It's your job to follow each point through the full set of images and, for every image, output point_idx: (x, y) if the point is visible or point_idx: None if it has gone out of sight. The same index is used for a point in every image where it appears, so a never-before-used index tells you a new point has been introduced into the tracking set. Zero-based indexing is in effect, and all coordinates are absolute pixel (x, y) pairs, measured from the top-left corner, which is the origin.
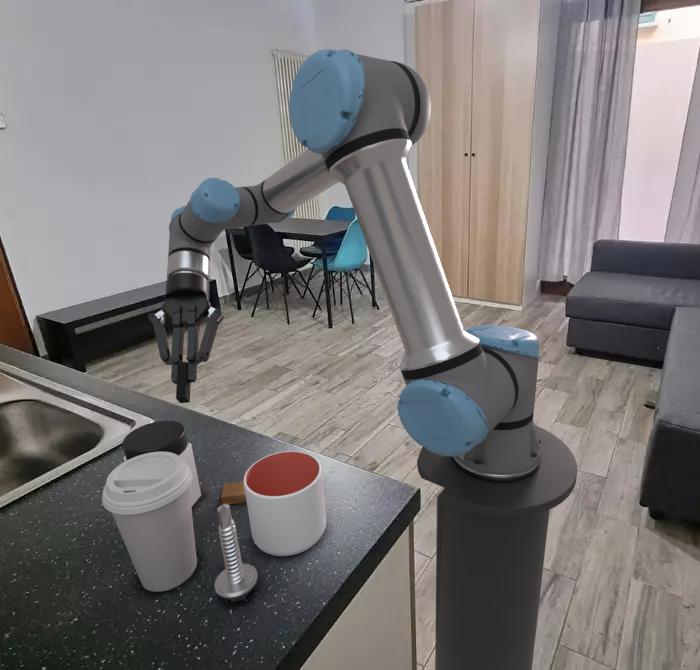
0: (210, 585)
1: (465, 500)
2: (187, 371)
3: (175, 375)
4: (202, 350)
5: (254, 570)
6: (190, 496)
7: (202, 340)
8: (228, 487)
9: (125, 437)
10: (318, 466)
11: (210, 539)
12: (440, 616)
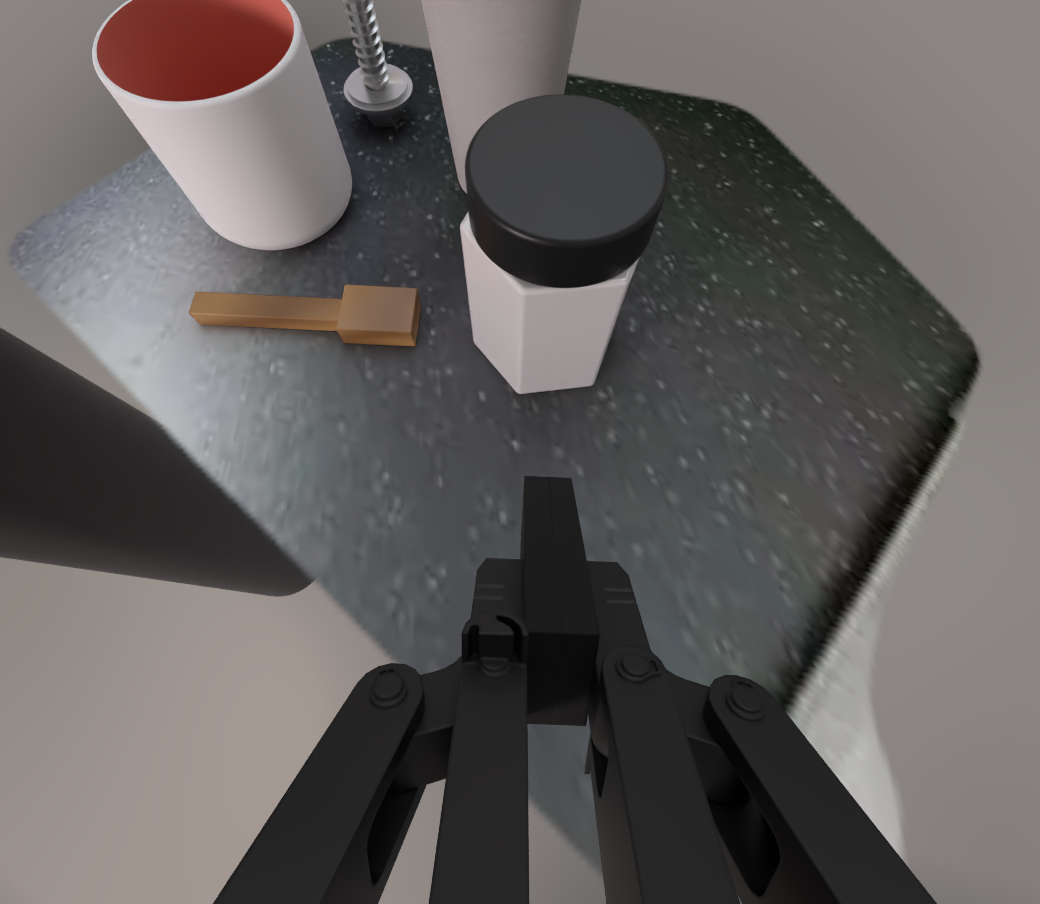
0: (430, 137)
1: None
2: (522, 598)
3: (603, 586)
4: (368, 722)
5: (347, 95)
6: (424, 15)
7: (328, 867)
8: (400, 316)
9: (665, 169)
10: (104, 55)
11: (439, 221)
12: (189, 478)
